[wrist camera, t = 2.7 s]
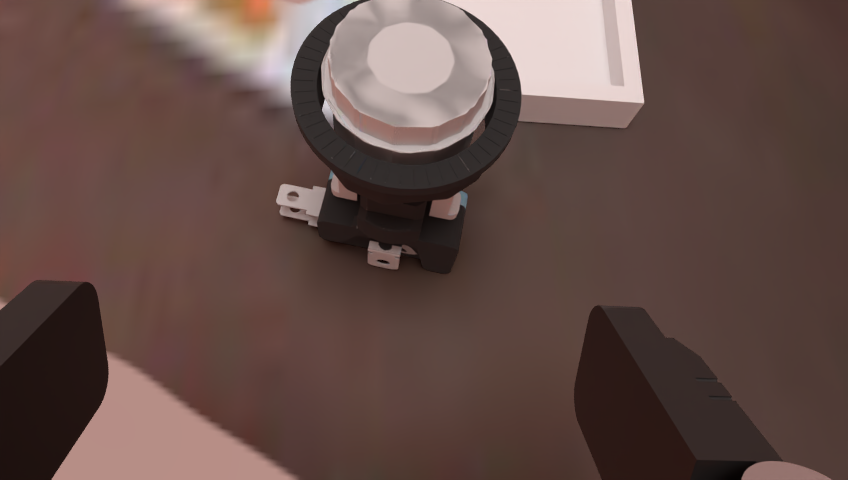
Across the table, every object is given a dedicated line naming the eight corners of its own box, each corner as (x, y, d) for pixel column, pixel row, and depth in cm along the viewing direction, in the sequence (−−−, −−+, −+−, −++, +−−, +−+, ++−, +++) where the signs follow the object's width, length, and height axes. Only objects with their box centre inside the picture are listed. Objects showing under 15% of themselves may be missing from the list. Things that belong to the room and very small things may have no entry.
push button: (264, 277, 22) (188, 123, 12) (303, 146, 24) (263, -71, 14) (451, 315, 22) (516, 191, 12) (474, 182, 24) (544, -11, 14)
